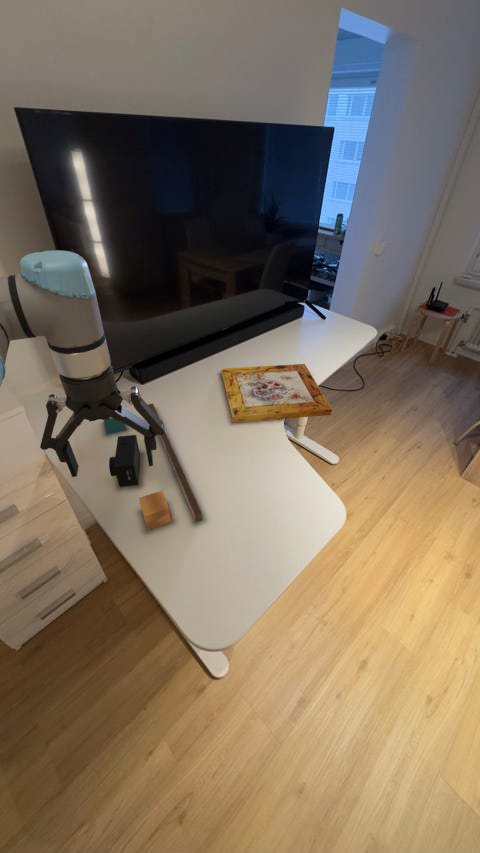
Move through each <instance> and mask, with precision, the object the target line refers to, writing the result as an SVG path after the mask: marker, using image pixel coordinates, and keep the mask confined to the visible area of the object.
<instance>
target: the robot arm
mask: <svg viewBox="0 0 480 853" xmlns="http://www.w3.org/2000/svg"><path fill="white" fill-rule="evenodd" d="M19 265H20V273H16V274H10V275H0V387H1V386H2V383H3V380H4V379H5V377H6V362H7V355H8V353H9V352H8V351H9V349H10V343H11V341H17V340H24V339H26V340H27V339H33V338H38V337H44V338H45V340H46V343H47V345H48V348H49V351H50V354H51V357H52V361H53V363H54V367H55V369H56V371H57V373H58V376H59V381H60V382H61V385H62V388H63V392H64V394H65V396H66V397H58V395H56V394H53V393H52V394H51V393H50V394H49V396H48V397H47V401H46V404H45V408H46V411H47V419H46V423H45V426H44V429H43V434H42V438H41V441H40V446H39V448H40V449H41V450H43V451H47V450H48V449H50V450H53V451H55V453H56V455H57V458H58V461H59V462H60V463H66V465H67V467H68V470H69V472H70V475H71V477H72V478H76V477H78V473H79V463H78V461H77V458H76V456H75V453H74V451H73V448H72V445H71V443H70V438H71V437H72V435H73V434H74V433H75V431H76V430H77V428H78V427H80V426H81V424H82V423H83V422H84V420H86V421H88V422H95V421H98V420H102V421H104V420H107V419H109V418H110V417H112V418H114V419H115V420H117V421H122V422H123V423H125V426H128V427H129V428H131V429H133V430H134V431H136V432H137V433H139V434H140V435H142V436H143V442H144V447H145V452H146V457H147V462H148V467H154V457H153V451H156V450H157V448H158V446H157V439H156V437H157V436H159V435H163V434H164V429H165V424H164V422H163V421H162V419H161V418H160V416H159V415H158V416H159V417H158V416H157V415H156V414H155V413H154V412H153V410H152V409H151V408H150V407H149V406H148V403H147V402H146V401H145V400H144V399H143V397H142V396H141V393H140V391H139V388H138V386H135V385H134V386H131V387H130V390H125V391H121V390H120V389H119V387H118V386H117V381H116V377H115V372H114V367H113V366H112V359H111V354H110V351H109V348H108V347H109V346H108V342H107V338H106V334H105V330H104V326H103V321H102V316H101V312H100V307H99V302H98V298H97V294H96V293H97V292H96V289H95V286H94V283H93V280H92V275H91V272H90V269H89V265H88V263H87V261H86V260H85V258H84V257H82V256H81V255H79V254H78V253H75V252H74V251H69V250H57V249H55V250H43V251H39V252H31V253H29V254H26V255H24V256H23V257H22V258H21V259H20V261H19ZM123 401H126V402H127V403H128V404H129V405H130V406H133V408H134V410H135V411H136V412H137V413H138V414H139V415H140V416H141V417H140V416H138V415H137V414H135V413H134V412H133V411H131V410H130V409H128V408H127V407H126V406H125V405H124V404H123ZM65 407H67V408H68V410H70V411H71V412H72V414H71V415H70V417H69V419H68V420H67V421H66V423H65V424H64V426H63V427H62V428H61V430H60V431H59V432H58V434H56V436H55V437H52V436H53V432H54V428H55V425H56V422H57V417H58V414H59V413H60V412H62V411H63V409H64V408H65ZM116 410H117V411H116ZM159 418H160V419H159Z"/></svg>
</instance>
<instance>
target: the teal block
mask: <svg viewBox="0 0 480 853" xmlns="http://www.w3.org/2000/svg"><path fill="white" fill-rule="evenodd" d="M116 411H117V410H116ZM103 423H104V426H105V430H106V433H107V435H110V434H114V433H119V432H123V431H126V430H127V425H126V424H125V423H123V422H122V421H117V420H115V419H114V418H112V417H110V418H109V419H107V420H103Z"/></svg>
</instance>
